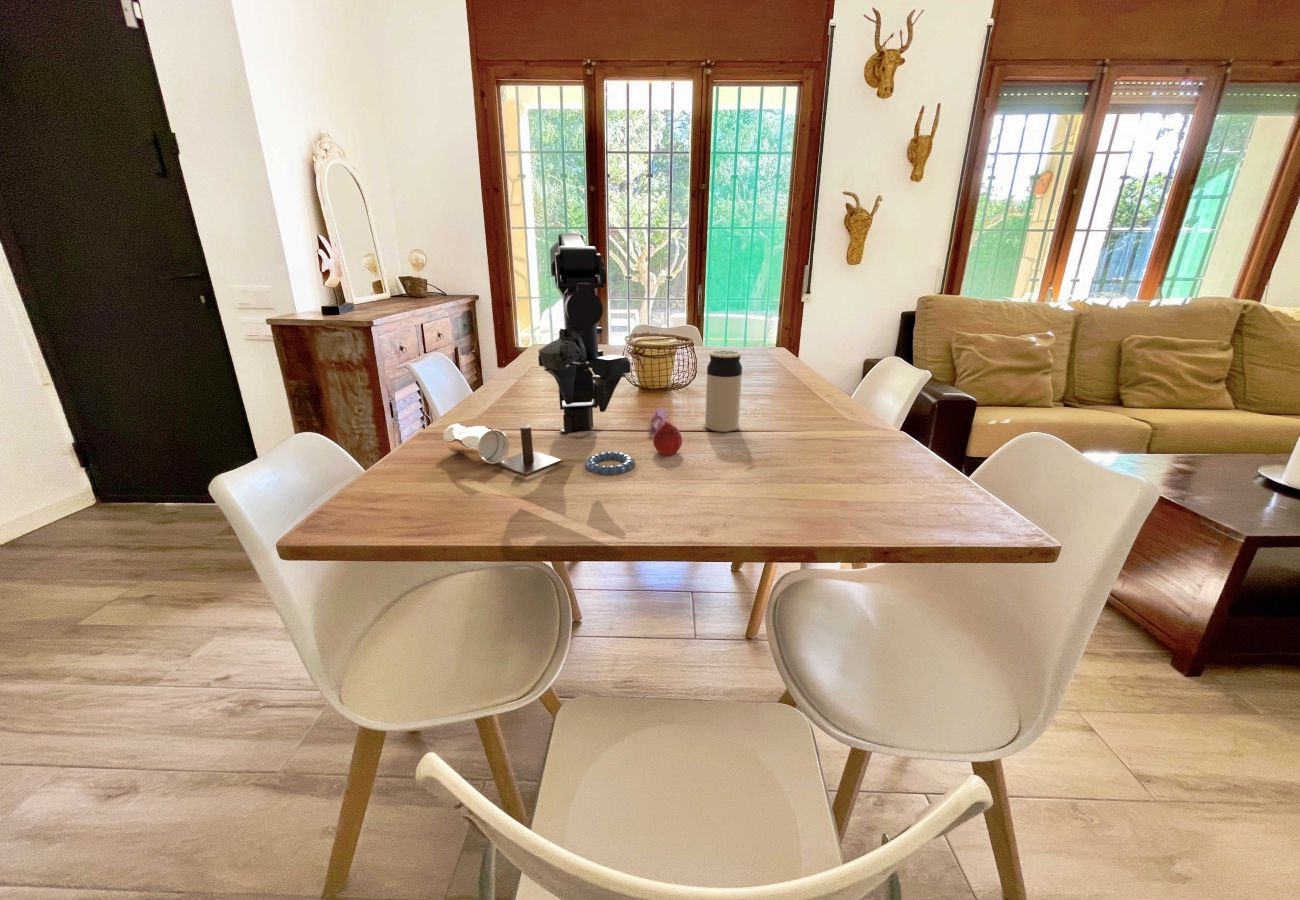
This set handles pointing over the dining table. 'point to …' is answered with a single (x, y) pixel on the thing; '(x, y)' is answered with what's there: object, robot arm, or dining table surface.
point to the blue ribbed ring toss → (609, 470)
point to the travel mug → (723, 390)
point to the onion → (667, 439)
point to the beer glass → (477, 442)
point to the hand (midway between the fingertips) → (585, 407)
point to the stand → (528, 457)
